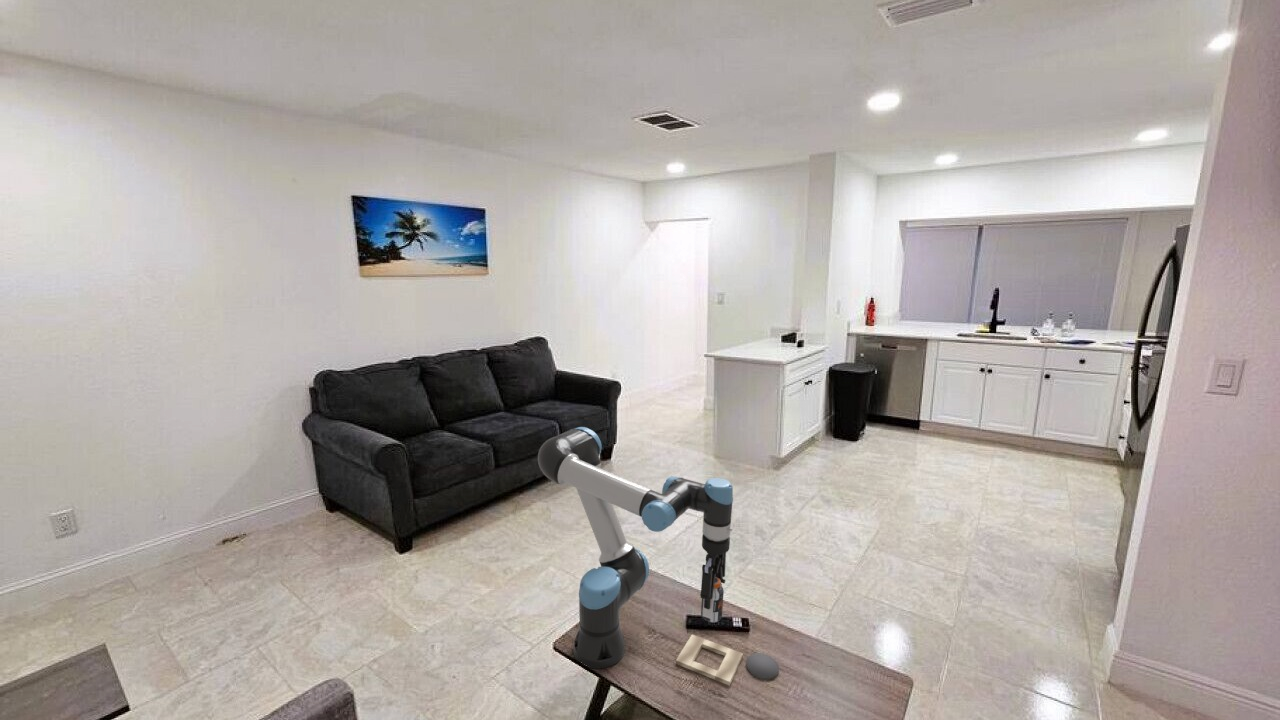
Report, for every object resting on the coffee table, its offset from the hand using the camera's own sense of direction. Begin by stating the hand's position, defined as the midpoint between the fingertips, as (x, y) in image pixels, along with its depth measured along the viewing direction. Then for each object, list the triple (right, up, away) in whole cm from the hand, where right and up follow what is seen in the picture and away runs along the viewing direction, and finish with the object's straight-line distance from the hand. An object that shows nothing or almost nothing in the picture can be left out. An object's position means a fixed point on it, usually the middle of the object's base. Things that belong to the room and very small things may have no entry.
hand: (711, 609), depth 147 cm
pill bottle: (0, -2, 0) cm, 2 cm away
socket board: (0, -16, +3) cm, 16 cm away
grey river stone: (+15, -17, +1) cm, 22 cm away
